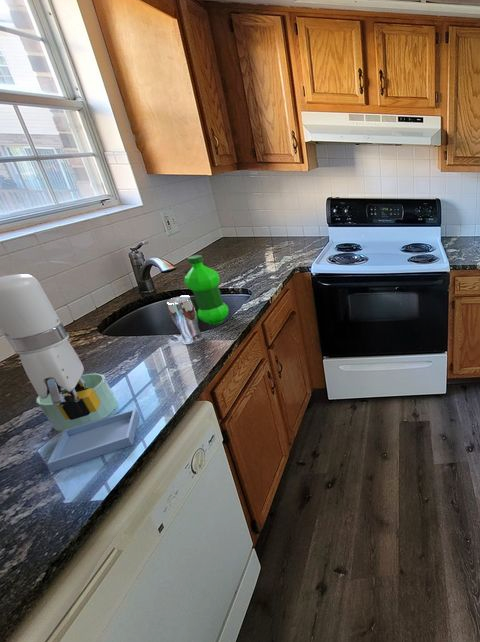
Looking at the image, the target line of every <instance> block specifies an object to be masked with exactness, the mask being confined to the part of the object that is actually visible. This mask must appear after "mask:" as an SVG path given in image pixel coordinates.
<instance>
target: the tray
mask: <svg viewBox="0 0 480 642" xmlns="http://www.w3.org/2000/svg"><path fill="white" fill-rule="evenodd" d="M140 416H141V415H140V414H139V412H138V409H137V408H133V409H130V410H127V411H123V412H120V413H116V414H113V415H110V416H106V417H105V418H103V419H100V420H96V421H93V422H90V423H86V424H83V425H80V426H76V427H73V428H70V429H66V430H64V431H63V432H62V433H61V435H60V436H59V439H58V441H57V443H56V445H55V446H54V449H53V451H52V453H51V454H50V457H49V459H48V461H47V463H46V465H47V467H48V468H49V469H50V471H51V472H52V473H53V472H56V471H59V470H62V469H65V468H68V467H71V466H74V465H77V464H79V463H80V464H81V463H83V462H86V461H88V460H92V459H94V458H97V457H101V456H103V455H107V454H109V453H110V454H111V453H112V452H115V451H119V450H122V449H125V448H128V447H130V446H133V445H134V441H135V436H136V433H137V429H138V424H139V420H140Z"/></svg>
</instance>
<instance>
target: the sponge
mask: <svg viewBox="0 0 480 642" xmlns="http://www.w3.org/2000/svg"><path fill="white" fill-rule="evenodd" d="M76 393H77V395H78V397H79V399H83V401H84V402H85V404H86V406H87V407H88V409H89V411H90V413H92V412H95V411H97V410H98V407H99V405H100V400H99V399H98V397H97V395H96V393H95V391H94V390H93V388H90V389H86V390H83V391H79V392H76ZM68 395H69V396H71V394H68ZM64 396H67V395H64ZM57 406H58V408H59V410H60V411H61V413H62V414H63V416H64V418H65V419H66V420H68V419H69V418H68V416H67V414H66V413H65V411H64V410H63V408H62V407H61V406H60V405H59V404H57Z"/></svg>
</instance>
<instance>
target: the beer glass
mask: <svg viewBox="0 0 480 642" xmlns="http://www.w3.org/2000/svg"><path fill="white" fill-rule="evenodd" d="M165 303H166V306H167V310H168V314H169V315H170V318H171V320H172V321H173V323H174V325H175V326H176V327H177V329H178V331H179V332H180V335H181V340H182V343H183V345H193V344H197V343H200V342H201V341H203V340H204V338H205V336H204V334H203V332H202V331H201V329H200V325H199V317H198V311H197V310H196V307H195V304H194V302H193V300H192V297H191V296H190V295H180V296H176V297H172V298H169V299H168V300H166V302H165Z"/></svg>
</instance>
